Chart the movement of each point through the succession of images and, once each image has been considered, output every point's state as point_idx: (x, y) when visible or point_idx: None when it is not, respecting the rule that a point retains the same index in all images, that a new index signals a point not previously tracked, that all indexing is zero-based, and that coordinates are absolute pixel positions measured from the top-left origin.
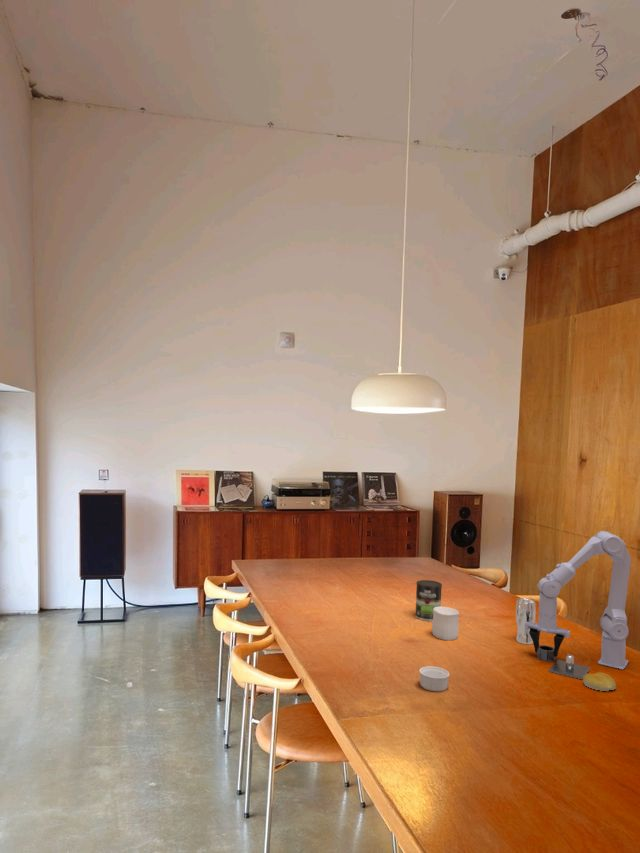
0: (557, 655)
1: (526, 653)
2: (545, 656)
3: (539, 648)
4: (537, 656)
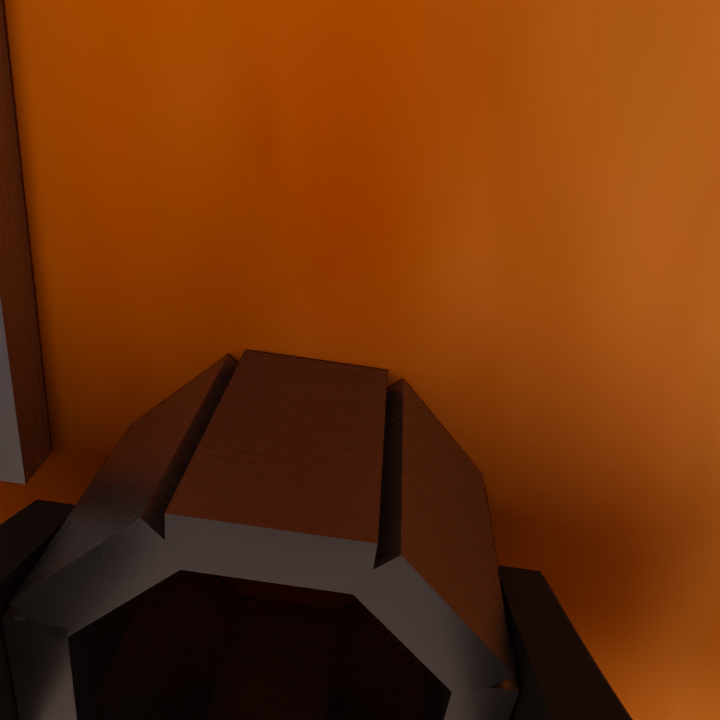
0: None
1: (703, 586)
2: (259, 414)
3: (440, 621)
4: (473, 480)
